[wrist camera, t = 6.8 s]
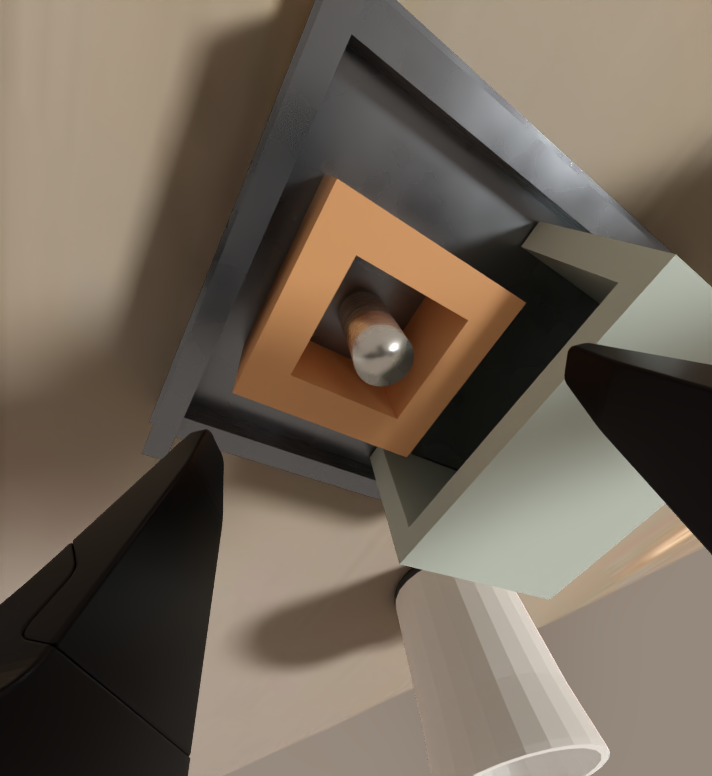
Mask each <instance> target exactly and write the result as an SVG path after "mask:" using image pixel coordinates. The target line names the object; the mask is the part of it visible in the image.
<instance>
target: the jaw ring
mask: <svg viewBox="0 0 712 776" xmlns="http://www.w3.org/2000/svg"><path fill="white" fill-rule="evenodd" d="M356 255H357V256H359V257H360V258H362V259H364V260H365V261H367V262H369V263H371V264H372V265H374V266H376V267H377V268H379V269H381V270H383V271H384V272H386V273H388V274H389V275H391V276H393V277H395V278H396V279H398V280H400V281H402V282H403V283H405V284H407V285H408V286H410V287H412V288H414V289H415V290H417V291H419V292H420V293H422V294H424V295H426V297H425V298H424V300H423V301H422V303H421V304H420V306H419V307H418V309H417V310H416V312H415V313H414V315H413V317H412V318H411V320H410V321H409V323H408V324H407V326H406V327H405V329H404V330H403V333H404V334H405V336H406V337H407V339H408V340H409V342H410V343H411V345H412V347H413V350H414V361H413V365H412V367H411V369H410V371H409V372H408V373H407V375H406V376H405V377H404V378H402V379H401V380H400V381H398V382H396V383H394V384H392V385H388V386H374V385H370V384H368V383H366V382H365V381H363V380H362V379H361V378H360V377H359V375H358V374H357V372H356V369H355V366H354V363H353V360H351V359H349V358H347V357H344V356H342V355H340V354H338V353H336V352H334V351H331V350H329V349H327V348H325V347H323V346H321V345H318V344H316V343H314V342H312V341H310V339H311V337H312V335H313V333H314V331H315V329H316V328H317V326H318V324H319V322H320V320H321V319H322V317H323V315H324V313H325V311H326V309H327V308H328V306H329V304H330V302H331V300H332V299H333V297H334V295H335V293H336V291H337V289H338V288H339V286H340V284H341V282H342V280H343V278H344V277H345V275H346V273H347V271H348V269H349V268H350V266H351V264H352V262H353V260H354V258H355V257H356ZM525 304H526V302H524V301H523V300H521V299H520V298H518V297H517V296H515V295H514V294H512V293H511V292H509V291H508V290H506V289H505V288H503V287H502V286H500V285H499V284H497V283H495V282H494V281H492V280H491V279H489V278H488V277H486V276H485V275H483V274H482V273H480V272H479V271H477V270H476V269H474V268H473V267H471V266H470V265H468V264H467V263H465V262H464V261H462V260H460V259H459V258H457V257H456V256H454V255H453V254H451V253H450V252H448V251H447V250H445V249H444V248H442V247H441V246H439V245H438V244H436V243H435V242H433V241H432V240H430V239H428V238H427V237H425V236H424V235H422V234H421V233H419V232H418V231H416V230H415V229H413V228H412V227H410V226H409V225H407V224H406V223H404V222H403V221H401V220H400V219H398V218H397V217H395V216H393V215H392V214H390V213H389V212H387V211H386V210H384V209H383V208H381V207H380V206H378V205H377V204H375V203H374V202H372V201H371V200H369V199H368V198H366V197H365V196H363V195H361V194H360V193H358V192H357V191H355V190H354V189H352V188H351V187H349V186H348V185H346V184H345V183H343V182H342V181H340V180H339V179H337V178H334V177H332V176H329V175H326V174H324V176H323V178H322V181H321V183H320V185H319V187H318V189H317V191H316V193H315V195H314V197H313V200H312V202H311V204H310V206H309V208H308V210H307V212H306V214H305V216H304V219H303V221H302V223H301V225H300V227H299V229H298V231H297V233H296V235H295V238H294V240H293V242H292V244H291V246H290V248H289V250H288V252H287V254H286V257H285V259H284V261H283V263H282V265H281V267H280V269H279V271H278V273H277V276H276V278H275V280H274V282H273V284H272V286H271V288H270V290H269V292H268V295H267V297H266V299H265V301H264V303H263V305H262V307H261V309H260V311H259V314H258V316H257V318H256V320H255V322H254V324H253V326H252V328H251V330H250V333H249V335H248V337H247V339H246V341H245V343H244V345H243V349H242V354H241V358H240V363H239V367H238V371H237V376H236V380H235V384H234V389H233V393H234V394H237V395H240V396H242V397H245V398H248V399H250V400H253V401H256V402H258V403H261V404H264V405H266V406H269V407H272V408H275V409H277V410H280V411H283V412H285V413H288V414H291V415H293V416H296V417H299V418H302V419H304V420H307V421H310V422H312V423H315V424H318V425H320V426H323V427H326V428H329V429H331V430H334V431H337V432H339V433H342V434H345V435H347V436H350V437H353V438H355V439H358V440H361V441H364V442H366V443H369V444H372V445H374V446H377V447H380V448H382V449H385V450H388V451H391V452H393V453H396V454H399V455H401V456H404V457H408V455H409V454H410V453H411V451H412V450H413V449H414V448H415V446H416V445H417V444H418V442H419V441H420V440H421V438H422V437H423V436H424V435H425V433H426V432H427V431H428V429H429V428H430V427H431V426H432V424H433V423H434V422H435V420H436V419H437V418H438V416H439V415H440V414H441V413H442V411H443V410H444V409H445V407H446V406H447V405H448V404H449V402H450V401H451V400H452V398H453V397H454V396H455V394H456V393H457V392H458V391H459V389H460V388H461V387H462V385H463V384H464V383H465V382H466V380H467V379H468V378H469V376H470V375H471V374H472V372H473V371H474V370H475V369H476V367H477V366H478V365H479V363H480V362H481V361H482V360H483V358H484V357H485V356H486V354H487V353H488V352H489V350H490V349H491V348H492V347H493V345H494V344H495V343H496V341H497V340H498V339H499V338H500V336H501V335H502V334H503V332H504V331H505V330H506V328H507V327H508V326H509V325H510V323H511V322H512V321H513V319H514V318H515V317H516V316H517V314H518V313H519V312H520V310H521V309H522V308H523V306H524V305H525Z"/></svg>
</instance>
